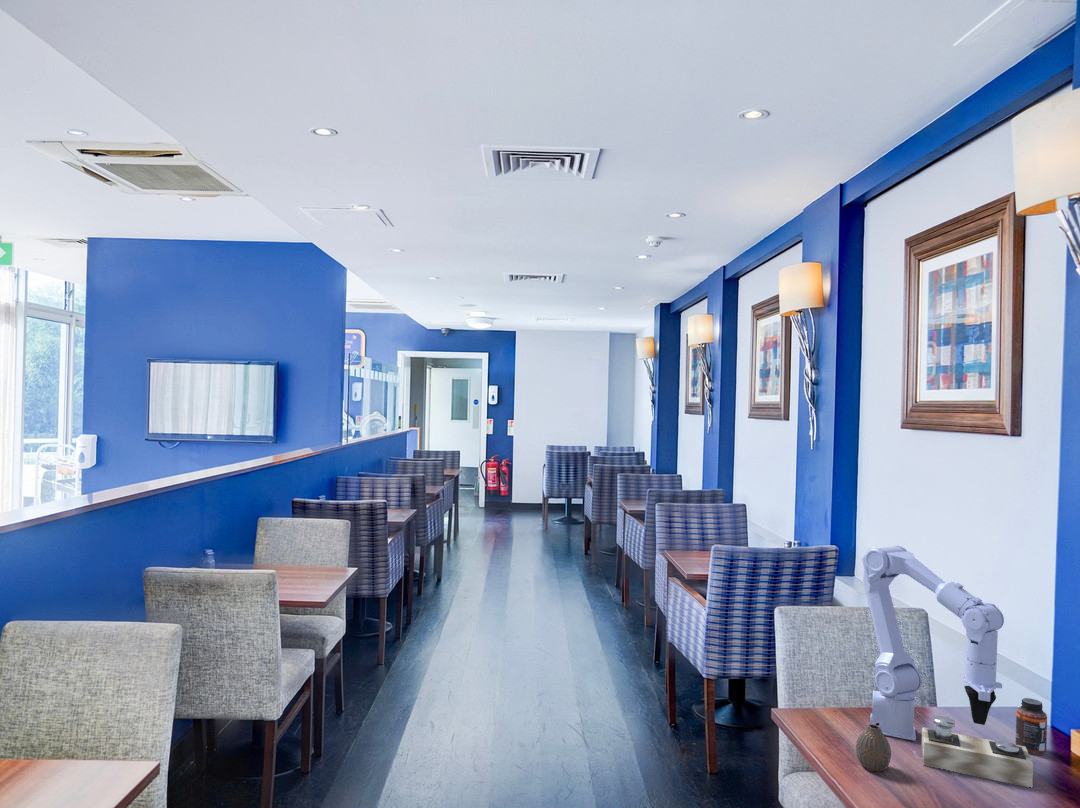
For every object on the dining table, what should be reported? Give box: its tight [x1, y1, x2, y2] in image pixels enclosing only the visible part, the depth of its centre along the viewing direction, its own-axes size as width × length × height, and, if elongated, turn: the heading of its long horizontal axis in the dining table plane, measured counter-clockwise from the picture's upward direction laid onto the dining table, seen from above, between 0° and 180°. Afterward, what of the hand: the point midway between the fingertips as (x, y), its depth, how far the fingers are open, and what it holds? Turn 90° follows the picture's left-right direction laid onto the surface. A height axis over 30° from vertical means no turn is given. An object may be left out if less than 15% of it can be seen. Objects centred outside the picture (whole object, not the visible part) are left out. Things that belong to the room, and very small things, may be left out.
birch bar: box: [921, 726, 1034, 789], centre depth 161 cm, size 20×9×5 cm, turn 65°
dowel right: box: [996, 740, 1019, 754], centre depth 158 cm, size 4×4×5 cm
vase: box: [855, 723, 892, 772], centre depth 159 cm, size 7×7×9 cm
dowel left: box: [932, 715, 956, 741], centre depth 163 cm, size 4×4×5 cm
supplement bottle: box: [1015, 697, 1048, 756], centre depth 171 cm, size 6×6×11 cm
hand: (978, 723), depth 161 cm, fingers closed
